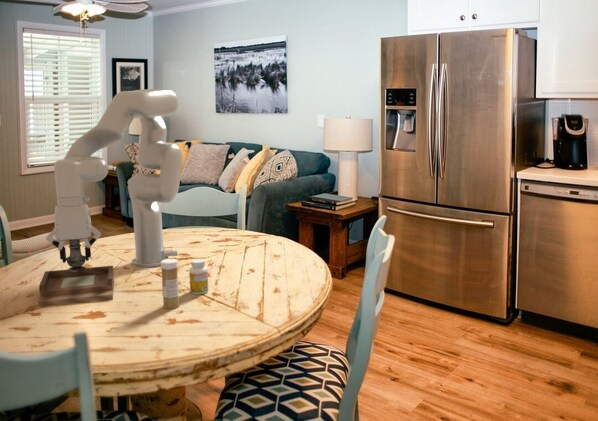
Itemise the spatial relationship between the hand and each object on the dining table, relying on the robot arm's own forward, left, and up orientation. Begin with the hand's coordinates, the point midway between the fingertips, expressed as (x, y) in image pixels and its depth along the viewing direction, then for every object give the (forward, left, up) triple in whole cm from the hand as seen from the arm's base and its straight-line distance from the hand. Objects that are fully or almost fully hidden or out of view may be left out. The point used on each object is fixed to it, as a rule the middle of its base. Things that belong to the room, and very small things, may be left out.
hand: (76, 260), depth 178 cm
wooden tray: (0, +1, -10) cm, 10 cm away
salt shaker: (0, 0, -3) cm, 3 cm away
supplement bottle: (-35, +11, -10) cm, 38 cm away
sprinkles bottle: (-26, +21, -10) cm, 35 cm away
